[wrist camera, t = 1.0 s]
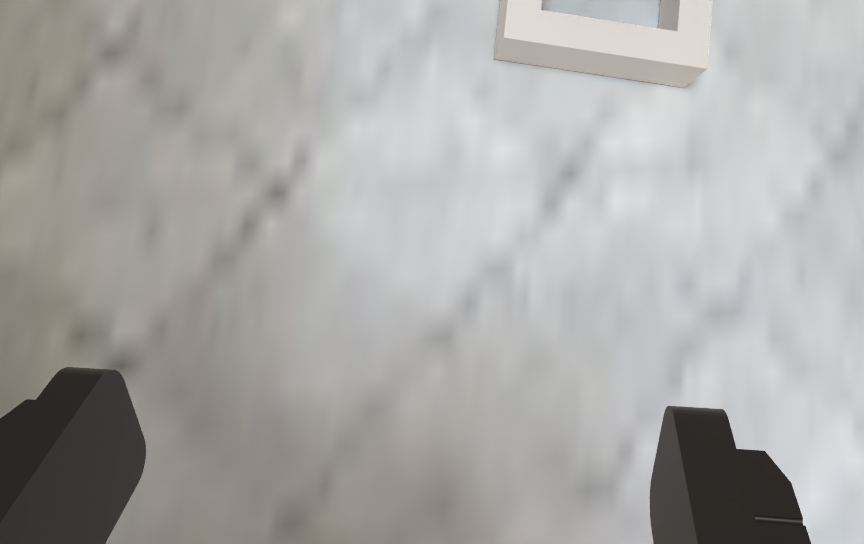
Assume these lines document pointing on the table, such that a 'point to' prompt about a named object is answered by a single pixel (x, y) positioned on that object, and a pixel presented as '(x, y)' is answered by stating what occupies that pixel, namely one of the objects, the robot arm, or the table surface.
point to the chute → (609, 41)
